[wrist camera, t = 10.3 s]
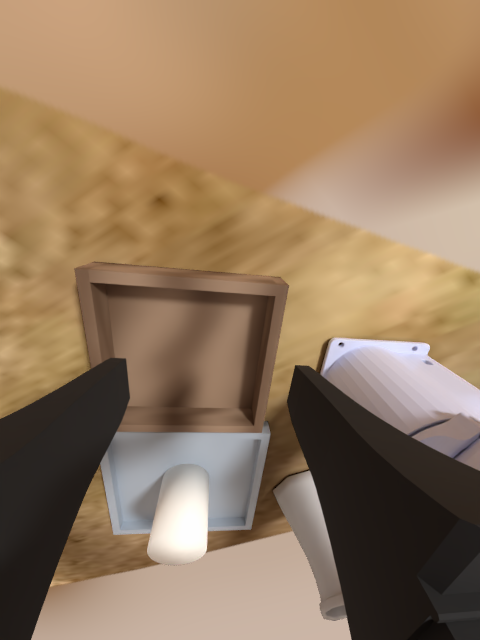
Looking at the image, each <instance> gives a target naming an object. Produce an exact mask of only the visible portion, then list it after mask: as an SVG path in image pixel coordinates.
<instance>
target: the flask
mask: <svg viewBox="0 0 480 640" xmlns="http://www.w3.org/2000/svg"><path fill="white" fill-rule="evenodd" d="M273 493H274V495H275V497H276V499H277V502H278V504H279V506H280V508H281V510H282V512H283V514H284V515H285V517H286V519H287V521H288V523H289V524H290V526H291V528H292V530H293V532H294V533H295V535H296V537H297V539H298V541H299V543H300V545H301V547H302V549H303V551H304V553H305V555H306V557H307V559H308V561H309V564H310V566H311V569H312V572H313V574H314V577H315V579H316V583H317V586H318V590H319V594H320V598H321V603H320V610H321V614H322V616H323V618H324V619H327V620H332V621H336V620H340V619H344V618H347V615H346V610H345V605H344V600H343V596H342V591H341V586H340V582H339V578H338V574H337V569H336V565H335V561H334V556H333V552H332V548H331V544H330V540H329V536H328V532H327V528H326V524H325V520H324V516H323V513H322V509H321V505H320V502H319V498H318V494H317V491H316V487H315V484H314V481H313V478H312V475H311V472H310V471H306V472H303V473H299V474H296V475H292V476H289V477H287V478H286V479H285V480H284V481H283V482H282V483H281V484H279V485H278V486H277V487H276V488H275V489H274V490H273Z"/></svg>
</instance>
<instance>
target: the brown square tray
mask: <svg viewBox="0 0 480 640" xmlns="http://www.w3.org/2000/svg"><path fill="white" fill-rule="evenodd" d="M74 270H75V276H76V281H77V287H78V293H79V299H80V305H81V311H82V317H83V323H84V329H85V335H86V340H87V346H88V352H89V358H90V364H91V369H92V368H94V367H95V366H97V365H99V364H100V363H102V362H104V361H105V360H107V359H109V358H126V362H127V372H128V382H129V392H130V400H129V403H128V405H127V408H126V411H125V414H124V417H123V419H122V422H121V424H120V426H119V428H118V430H117V432H209V433H262V429H263V424H264V418H265V413H266V408H267V402H268V397H269V391H270V386H271V380H272V375H273V369H274V364H275V359H276V353H277V348H278V342H279V337H280V331H281V326H282V321H283V315H284V310H285V304H286V299H287V293H288V288H289V285H288V284H287V283H286V282H285V281H284V280H283V279H282V278H280V277H271V276H259V275H247V274H235V273H223V272H211V271H199V270H187V269H175V268H163V267H151V266H139V265H127V264H115V263H103V262H92V263H89V264H86V265H83V266H80V267H77V268H74Z"/></svg>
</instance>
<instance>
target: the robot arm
mask: <svg viewBox="0 0 480 640" xmlns="http://www.w3.org/2000/svg"><path fill="white" fill-rule="evenodd" d="M341 342H342V344H341V345H339V343H341ZM413 347H414V348H413ZM412 348H413V349H412ZM429 349H430V346H429V345H428V344H426V343H421V342H403V341H385V340H367V339H349V338H332V339H331V340H330V341H329V343H328V347H327V350H326V354H325V358H324V361H323V365H322V369H321V372H320V374H319V373H318V372H316V371H315V370H314V369H312V368H311V367H309V366H299V365H295V369H294V373H293V378H292V382H291V387H290V391H289V395H288V400H287V403H288V408H289V413H290V417H291V421H292V424H293V427H294V430H295V433H296V435H297V438H298V441H299V443H300V446H301V449H302V451H303V454H304V457H305V459H306V462H307V465H308V467H309V470H310V472H311V475H312V478H313V481H314V484H315V487H316V491H317V494H318V498H319V502H320V505H321V509H322V513H323V516H324V520H325V524H326V528H327V532H328V536H329V540H330V544H331V548H332V552H333V556H334V561H335V565H336V569H337V574H338V578H339V582H340V586H341V591H342V596H343V600H344V605H345V610H346V615H347V619H348V624H349V628H350V634H351V639H352V640H480V390H479V389H477V388H476V387H474V386H473V385H471V384H470V383H468V382H467V381H465V380H464V379H462V378H461V377H459V376H458V375H456V374H455V373H453V372H452V371H450V370H449V369H447V368H446V367H444V366H442V365H441V364H439V363H438V362H436V361H435V360H433V359H432V358H430V357H429V356H427V354H428V351H429ZM129 400H130V392H129V382H128V372H127V362H126V358H109V359H107V360H105V361H104V362H102V363H100V364H99V365H97V366H95V367H94V368H92V369H90V370H89V371H87V372H85V373H84V374H82V375H81V376H79V377H77V378H76V379H74V380H72V381H71V382H69V383H67V384H66V385H64V386H62V387H60V388H59V389H57V390H55V391H53V392H52V393H50V394H48V395H46V396H44V397H43V398H41V399H39V400H37V401H35V402H34V403H32V404H30V405H28V406H26V407H24V408H22V409H20V410H18V411H16V412H14V413H12V414H10V415H8V416H6V417H4V418H2V419H0V640H31V638H32V635H33V632H34V629H35V626H36V623H37V620H38V617H39V615H40V611H41V609H42V606H43V603H44V601H45V598H46V595H47V592H48V589H49V587H50V584H51V581H52V578H53V576H54V573H55V570H56V567H57V565H58V562H59V559H60V557H61V554H62V552H63V549H64V546H65V544H66V541H67V539H68V536H69V533H70V531H71V528H72V526H73V523H74V521H75V518H76V516H77V513H78V511H79V508H80V506H81V503H82V501H83V499H84V496H85V494H86V491H87V489H88V487H89V485H90V483H91V481H92V478H93V476H94V474H95V473H96V471H97V469H98V467H99V465H100V463H101V461H102V459H103V457H104V455H105V453H106V451H107V449H108V447H109V445H110V443H111V441H112V440H113V438H114V436H115V434H116V432H117V430H118V428H119V426H120V424H121V422H122V419H123V417H124V414H125V411H126V408H127V405H128V403H129Z"/></svg>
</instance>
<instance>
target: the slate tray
mask: <svg viewBox="0 0 480 640" xmlns="http://www.w3.org/2000/svg"><path fill="white" fill-rule="evenodd" d="M270 434H271V433H270V429H269V424H268V421H264V424H263V429H262V433H209V432H116V434H115V436H114V438H113V440H112V441H111V443H110V445H109V447H108V449H107V451H106V453H105V455H104V457H103V459H102V461H101V463H100V464H101V470H102V475H103V480H104V486H105V491H106V497H107V502H108V507H109V513H110V518H111V523H112V529H113V534H114V535H118V534H144V533H151V530H152V525H153V521H154V516H155V511H156V507H157V502H158V498H159V493H160V488H161V484H162V479H163V476H164V474H165V472H166V471H167V470H168V469H170V468H171V467H173V466H176V465H179V464H195V465H198V466H200V467H202V468H204V469H205V470H206V471H207V472H208V474H209V504H208V530H207V531H223V530H249V529H251V528H252V523H253V518H254V513H255V508H256V503H257V498H258V493H259V488H260V483H261V478H262V474H263V469H264V464H265V459H266V454H267V449H268V444H269V439H270Z"/></svg>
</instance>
